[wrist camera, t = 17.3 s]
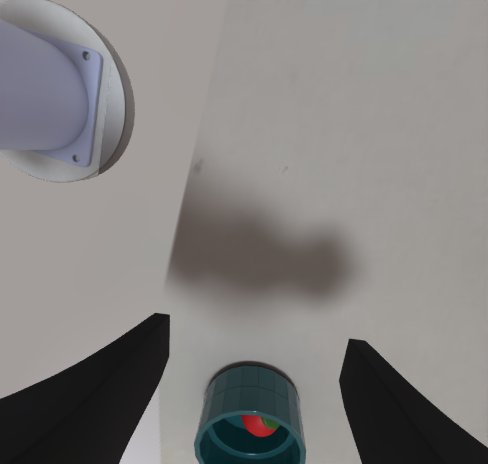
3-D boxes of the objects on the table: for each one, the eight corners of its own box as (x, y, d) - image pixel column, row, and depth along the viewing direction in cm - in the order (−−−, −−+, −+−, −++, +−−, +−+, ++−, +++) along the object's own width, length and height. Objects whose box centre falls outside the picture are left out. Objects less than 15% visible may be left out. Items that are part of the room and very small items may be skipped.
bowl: (197, 417, 25) (183, 473, 20) (220, 349, 22) (210, 397, 18) (280, 442, 25) (283, 503, 21) (311, 377, 23) (323, 431, 18)
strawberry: (229, 423, 21) (247, 435, 18) (242, 380, 23) (261, 384, 20) (263, 436, 22) (286, 449, 19) (273, 393, 24) (296, 399, 21)
